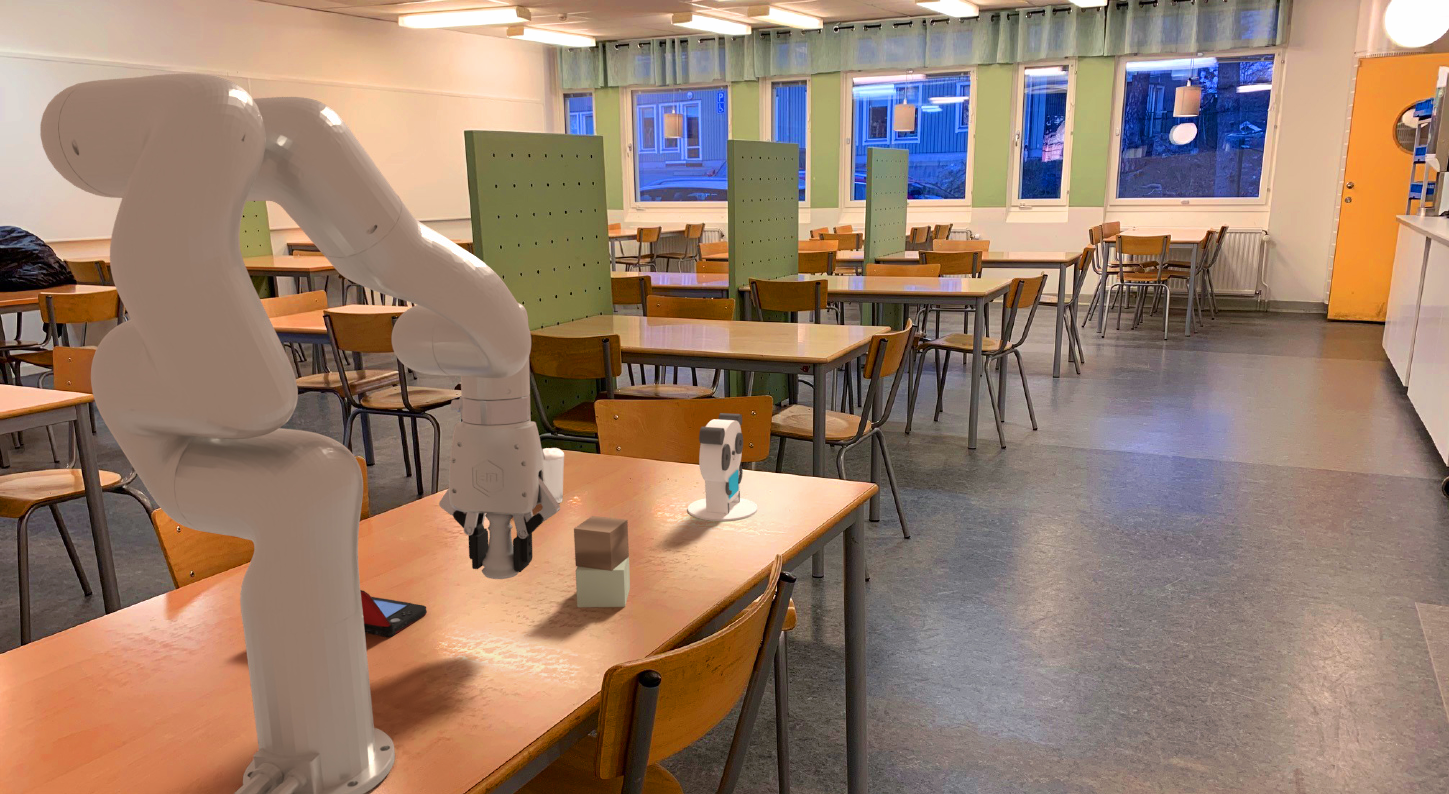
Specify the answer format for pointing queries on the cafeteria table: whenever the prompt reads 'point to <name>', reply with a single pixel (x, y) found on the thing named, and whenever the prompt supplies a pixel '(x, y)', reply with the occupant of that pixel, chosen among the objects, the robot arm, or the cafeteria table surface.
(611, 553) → the top block
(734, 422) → the panda figurine
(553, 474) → the milkshake
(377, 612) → the handheld game console
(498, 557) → the rook chess piece
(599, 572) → the base block
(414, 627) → the cafeteria table surface
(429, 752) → the cafeteria table surface
